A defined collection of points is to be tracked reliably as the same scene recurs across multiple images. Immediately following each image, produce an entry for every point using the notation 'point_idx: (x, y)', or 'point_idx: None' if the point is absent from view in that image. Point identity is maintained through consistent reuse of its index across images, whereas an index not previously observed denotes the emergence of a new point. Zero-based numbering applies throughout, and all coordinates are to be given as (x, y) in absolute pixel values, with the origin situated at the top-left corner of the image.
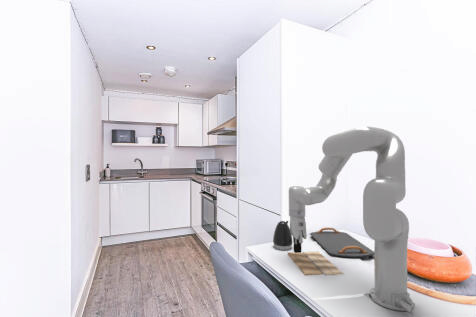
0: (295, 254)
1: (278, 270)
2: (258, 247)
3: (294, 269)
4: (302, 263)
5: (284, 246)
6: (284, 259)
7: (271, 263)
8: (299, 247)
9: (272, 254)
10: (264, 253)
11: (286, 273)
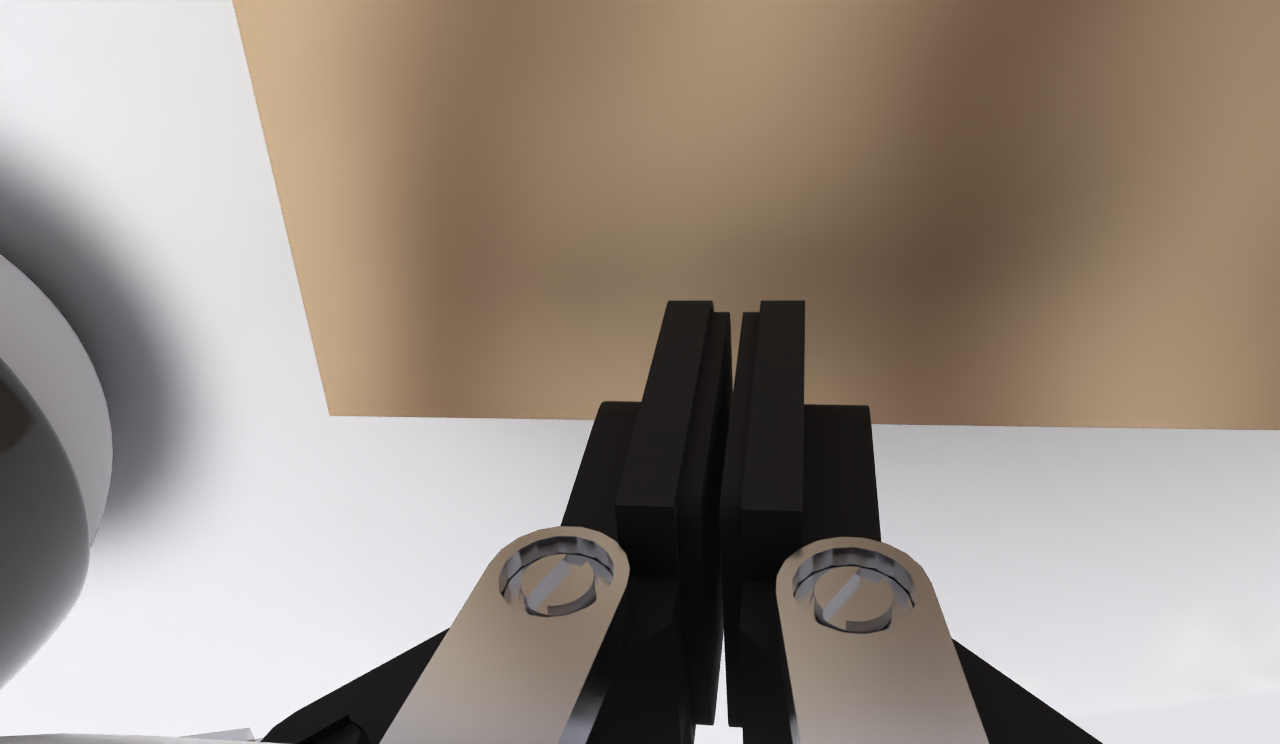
0: (428, 240)
1: (1077, 712)
2: (3, 731)
3: (1139, 436)
4: (1115, 259)
5: (69, 474)
6: (559, 475)
7: (742, 730)
8: (873, 515)
9: (303, 612)
10: (275, 716)
11: (1264, 632)
